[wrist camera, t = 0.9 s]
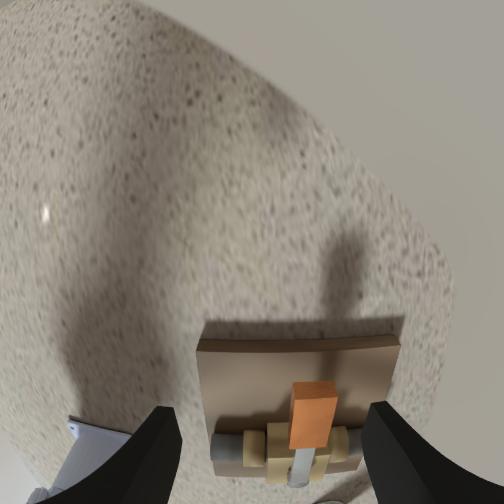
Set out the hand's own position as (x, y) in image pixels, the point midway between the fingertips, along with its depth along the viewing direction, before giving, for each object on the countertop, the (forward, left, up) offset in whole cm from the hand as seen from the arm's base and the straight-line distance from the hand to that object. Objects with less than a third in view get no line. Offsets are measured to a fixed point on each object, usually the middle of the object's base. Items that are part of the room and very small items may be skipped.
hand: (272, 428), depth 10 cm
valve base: (-12, -2, -10) cm, 16 cm away
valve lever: (-7, -2, -5) cm, 9 cm away
